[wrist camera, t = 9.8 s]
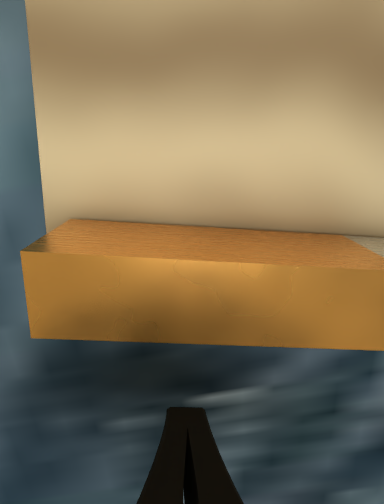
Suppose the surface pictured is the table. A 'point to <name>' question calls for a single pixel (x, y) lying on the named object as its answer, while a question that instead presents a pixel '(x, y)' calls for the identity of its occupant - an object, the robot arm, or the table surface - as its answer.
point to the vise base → (211, 113)
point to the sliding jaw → (205, 286)
